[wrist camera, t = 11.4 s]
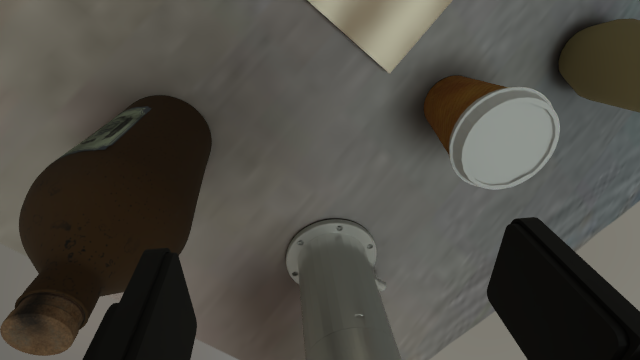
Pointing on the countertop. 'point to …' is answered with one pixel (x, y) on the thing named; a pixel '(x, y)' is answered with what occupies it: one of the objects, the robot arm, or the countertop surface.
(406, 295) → the countertop surface
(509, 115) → the disposable coffee cup
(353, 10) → the lever board
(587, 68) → the squeeze bottle
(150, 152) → the olive oil
